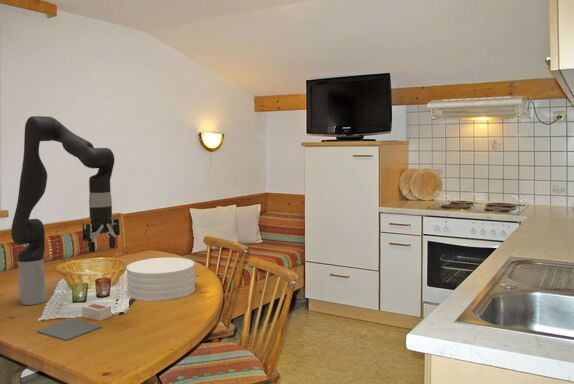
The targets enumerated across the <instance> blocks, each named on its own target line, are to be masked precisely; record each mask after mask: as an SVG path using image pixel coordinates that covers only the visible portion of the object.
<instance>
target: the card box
mask: <svg viewBox="0 0 574 384" xmlns="http://www.w3.org/2000/svg"><path fill="white" fill-rule="evenodd" d="M81 309H82V310H81V311H82V317H83V316H84V317H83V318H87V319H90V320H94V321H97V322H98V321H104V320H105V319H108V318H111V317H112V316H113V315H112V312H111V306H107V304H101V303H98V302H92V303H90V304H87V305H84V306H82V307H81Z"/></svg>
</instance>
